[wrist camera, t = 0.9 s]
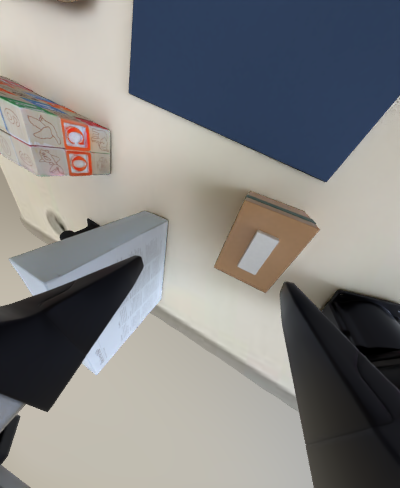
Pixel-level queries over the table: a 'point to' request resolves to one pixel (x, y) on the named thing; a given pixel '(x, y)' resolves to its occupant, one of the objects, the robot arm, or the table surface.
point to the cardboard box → (264, 241)
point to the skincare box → (98, 257)
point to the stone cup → (67, 0)
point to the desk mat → (272, 71)
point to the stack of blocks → (49, 135)
